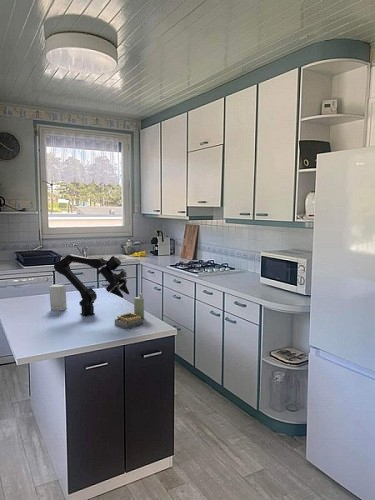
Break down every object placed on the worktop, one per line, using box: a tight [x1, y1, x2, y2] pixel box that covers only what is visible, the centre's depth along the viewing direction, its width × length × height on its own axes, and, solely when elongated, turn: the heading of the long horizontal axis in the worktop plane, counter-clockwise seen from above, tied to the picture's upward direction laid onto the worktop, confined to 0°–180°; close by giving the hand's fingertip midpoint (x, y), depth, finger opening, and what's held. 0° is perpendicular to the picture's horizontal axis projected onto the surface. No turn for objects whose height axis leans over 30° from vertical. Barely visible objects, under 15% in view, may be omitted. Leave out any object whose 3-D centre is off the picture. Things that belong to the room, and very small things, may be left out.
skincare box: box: [48, 284, 68, 312], centre depth 243 cm, size 8×7×16 cm
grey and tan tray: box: [114, 312, 144, 330], centre depth 213 cm, size 11×11×4 cm
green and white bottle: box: [133, 292, 145, 321], centre depth 223 cm, size 6×6×15 cm
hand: (126, 295), depth 225 cm, fingers open, 9 cm apart
